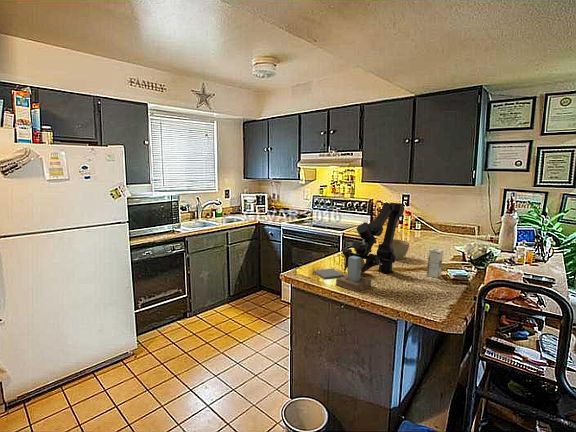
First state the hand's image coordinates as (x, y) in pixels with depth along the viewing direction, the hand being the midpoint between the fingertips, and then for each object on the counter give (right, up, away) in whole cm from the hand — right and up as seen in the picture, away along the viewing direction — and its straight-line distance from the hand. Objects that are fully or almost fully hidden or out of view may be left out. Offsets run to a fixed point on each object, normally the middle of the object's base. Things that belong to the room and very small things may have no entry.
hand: (353, 270), depth 157 cm
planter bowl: (+38, -1, +55) cm, 67 cm away
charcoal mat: (-10, -5, +18) cm, 21 cm away
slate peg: (+1, -7, +2) cm, 8 cm away
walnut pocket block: (+1, -7, +2) cm, 8 cm away
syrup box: (+47, -6, +19) cm, 52 cm away
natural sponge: (+6, -5, +22) cm, 24 cm away
